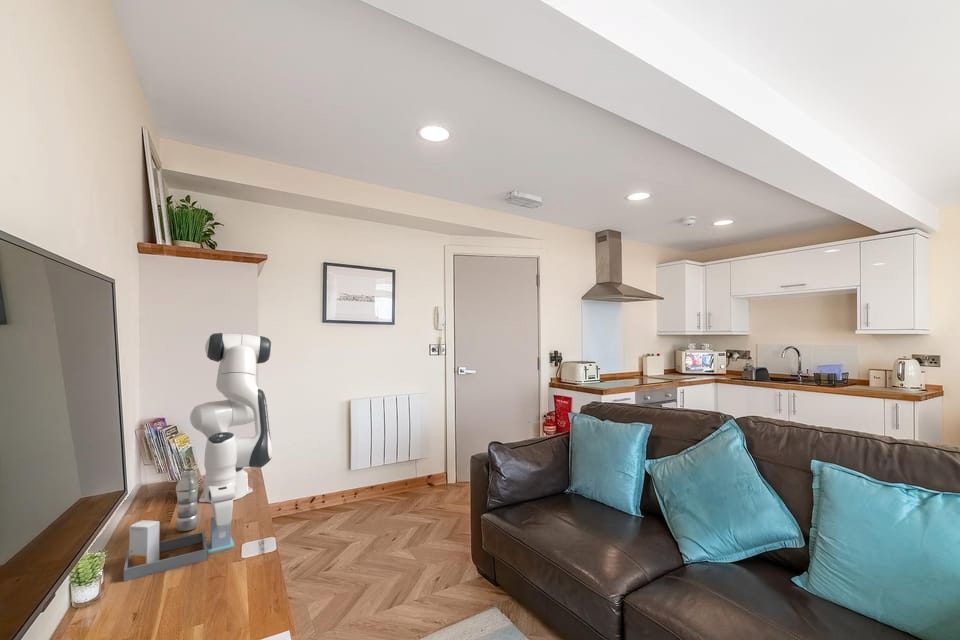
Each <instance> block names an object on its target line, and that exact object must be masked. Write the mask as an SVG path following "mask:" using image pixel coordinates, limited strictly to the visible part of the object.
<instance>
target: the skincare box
mask: <svg viewBox="0 0 960 640" xmlns="http://www.w3.org/2000/svg"><path fill="white" fill-rule="evenodd" d="M128 536H129V541H128V542H129V545H128V546H129V548H128V549H129V568H131V567H135V566H139V565H143V564H147V563H151V562H155V561H159V560H160V552H159V542H160V521H158V520H152V519H151V520H149V519H147V520H145V519H144V520H143V519H141V520H139V521H137V522H135V523H133V524H131V525H130V526H129V535H128Z"/></svg>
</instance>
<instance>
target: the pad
mask: <svg viewBox="0 0 960 640" xmlns="http://www.w3.org/2000/svg"><path fill="white" fill-rule="evenodd" d="M206 545H207V555H211V554H215V553H219V552H223V551H227V550H230V549H234V548H235V543H234V540H233V537H232V536H230V545H226V546H222V547H218V548H214V549H212V548H211V541H210V542H209V541H208V542H206Z"/></svg>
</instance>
